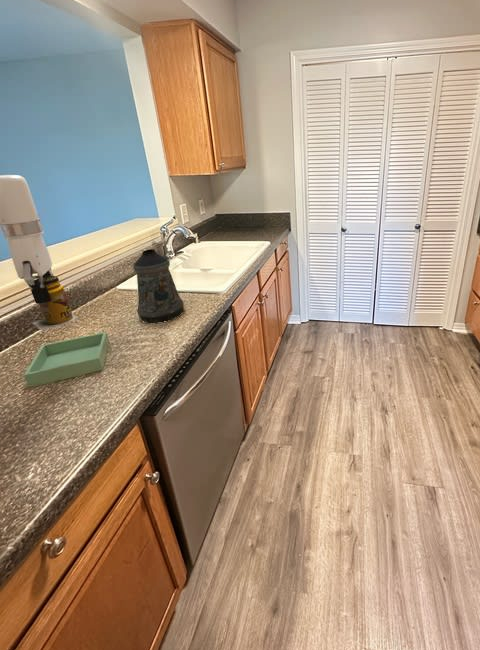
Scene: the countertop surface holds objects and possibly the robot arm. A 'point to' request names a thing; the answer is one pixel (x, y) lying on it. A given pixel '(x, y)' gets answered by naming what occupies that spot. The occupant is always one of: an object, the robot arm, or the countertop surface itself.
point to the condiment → (54, 305)
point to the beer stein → (156, 289)
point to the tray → (68, 359)
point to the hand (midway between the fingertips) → (47, 296)
